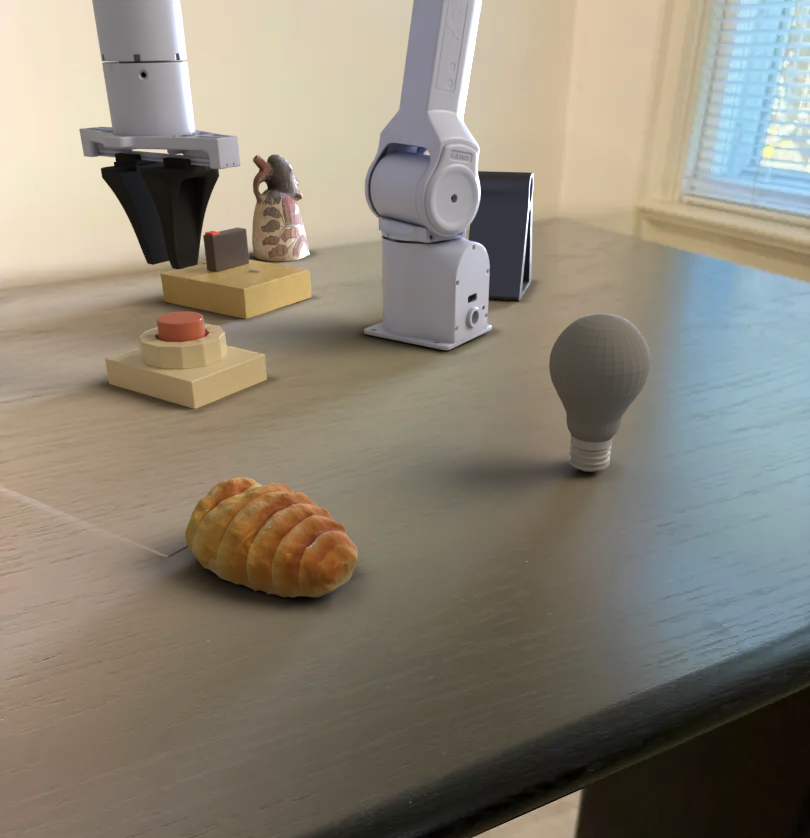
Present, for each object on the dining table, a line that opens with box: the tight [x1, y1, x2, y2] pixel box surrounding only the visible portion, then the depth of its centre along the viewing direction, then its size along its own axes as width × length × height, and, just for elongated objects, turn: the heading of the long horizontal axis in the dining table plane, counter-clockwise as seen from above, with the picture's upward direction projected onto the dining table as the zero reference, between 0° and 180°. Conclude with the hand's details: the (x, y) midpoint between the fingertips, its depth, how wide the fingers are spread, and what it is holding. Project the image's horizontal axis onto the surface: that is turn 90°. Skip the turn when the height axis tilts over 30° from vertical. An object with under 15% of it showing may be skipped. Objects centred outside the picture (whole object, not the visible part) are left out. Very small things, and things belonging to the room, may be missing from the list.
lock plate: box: [160, 259, 312, 320], centre depth 94 cm, size 13×10×3 cm
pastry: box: [184, 476, 359, 598], centre depth 46 cm, size 9×7×4 cm
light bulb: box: [548, 312, 652, 473], centre depth 55 cm, size 6×6×10 cm
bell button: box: [155, 310, 206, 342], centre depth 70 cm, size 4×4×2 cm
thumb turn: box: [202, 227, 250, 272], centre depth 94 cm, size 5×1×4 cm, turn 145°
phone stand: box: [468, 170, 535, 302], centre depth 95 cm, size 9×6×12 cm, turn 164°
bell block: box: [104, 322, 268, 410], centre depth 71 cm, size 10×8×4 cm
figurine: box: [251, 153, 311, 262], centre depth 111 cm, size 7×7×12 cm
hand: (172, 264), depth 68 cm, fingers closed
